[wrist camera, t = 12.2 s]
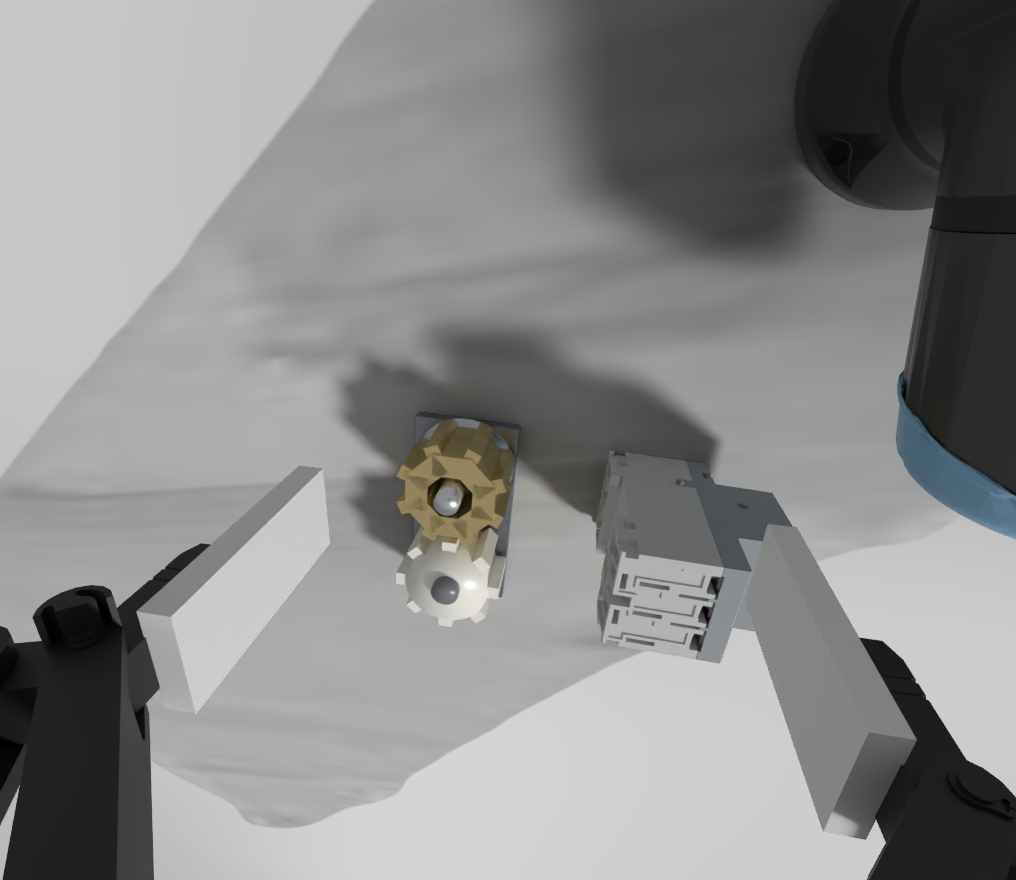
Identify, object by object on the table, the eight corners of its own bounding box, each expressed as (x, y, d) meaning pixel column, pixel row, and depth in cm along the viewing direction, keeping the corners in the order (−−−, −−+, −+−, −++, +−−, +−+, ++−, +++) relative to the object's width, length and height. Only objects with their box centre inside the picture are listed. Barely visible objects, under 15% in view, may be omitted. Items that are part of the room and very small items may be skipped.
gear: (510, 520, 51) (500, 558, 46) (501, 599, 55) (492, 642, 49) (412, 506, 52) (392, 541, 46) (411, 584, 55) (392, 625, 50)
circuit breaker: (754, 547, 50) (816, 679, 36) (595, 523, 51) (597, 642, 38) (779, 474, 47) (856, 588, 33) (609, 449, 48) (617, 551, 35)
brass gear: (518, 425, 47) (509, 456, 42) (509, 514, 51) (500, 552, 45) (417, 412, 48) (395, 440, 42) (415, 500, 52) (395, 536, 46)
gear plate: (520, 421, 48) (508, 461, 41) (503, 590, 56) (490, 650, 48) (419, 407, 49) (389, 445, 42) (415, 576, 57) (389, 633, 49)
